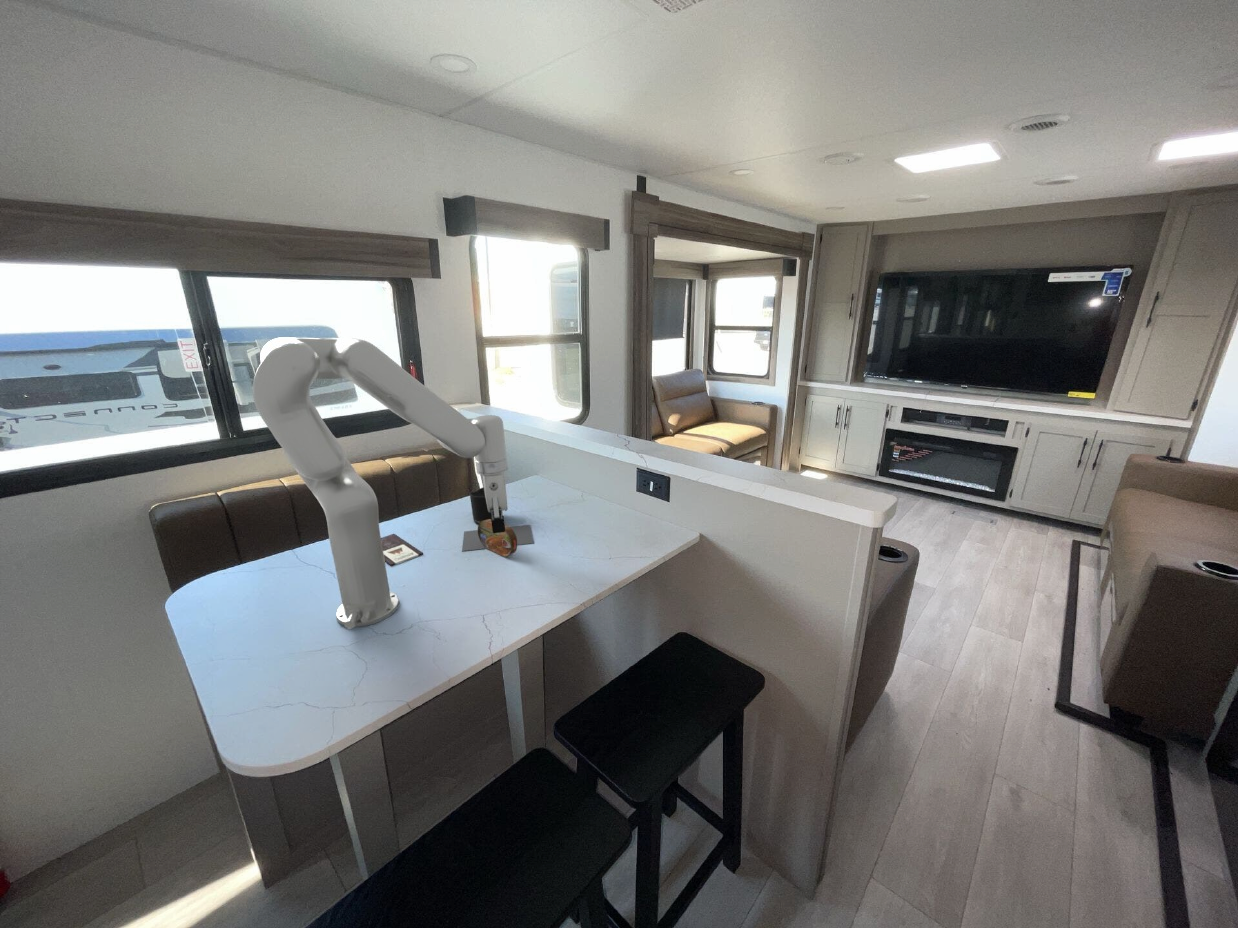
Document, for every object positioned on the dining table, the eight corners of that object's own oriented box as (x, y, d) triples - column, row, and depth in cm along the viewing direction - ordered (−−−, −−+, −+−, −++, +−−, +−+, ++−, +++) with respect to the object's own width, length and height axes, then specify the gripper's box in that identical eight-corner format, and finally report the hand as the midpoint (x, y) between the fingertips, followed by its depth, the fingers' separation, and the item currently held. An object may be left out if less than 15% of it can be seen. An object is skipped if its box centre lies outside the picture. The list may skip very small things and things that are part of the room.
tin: (477, 543, 139) (475, 517, 136) (487, 539, 142) (484, 513, 139) (511, 561, 130) (509, 533, 128) (520, 556, 133) (518, 529, 130)
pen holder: (472, 516, 158) (469, 488, 155) (501, 513, 161) (499, 485, 158) (472, 528, 150) (469, 498, 147) (503, 524, 153) (501, 495, 150)
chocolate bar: (394, 533, 145) (423, 552, 134) (394, 536, 145) (423, 555, 134) (363, 543, 139) (390, 564, 127) (363, 546, 139) (391, 567, 128)
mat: (533, 543, 140) (533, 542, 140) (462, 551, 135) (461, 550, 135) (530, 525, 152) (530, 524, 152) (464, 532, 147) (464, 531, 147)
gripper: (508, 473, 114) (515, 542, 120) (506, 455, 128) (512, 518, 134) (475, 476, 113) (484, 546, 118) (476, 457, 126) (484, 521, 132)
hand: (499, 531), depth 126 cm, fingers closed
